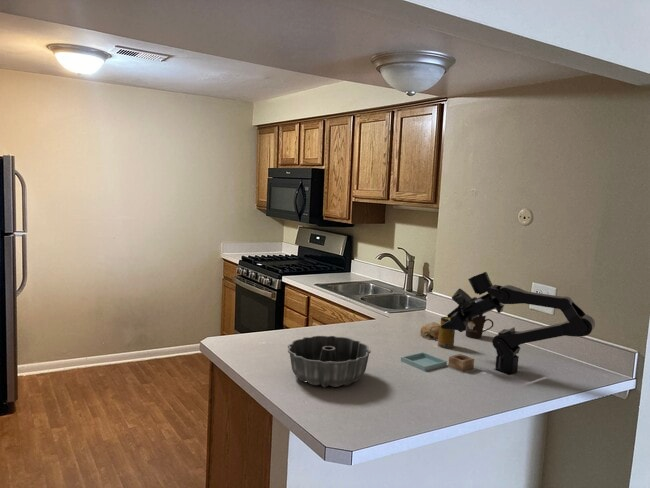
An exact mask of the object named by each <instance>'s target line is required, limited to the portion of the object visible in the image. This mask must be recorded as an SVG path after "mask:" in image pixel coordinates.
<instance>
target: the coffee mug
mask: <svg viewBox="0 0 650 488" xmlns="http://www.w3.org/2000/svg"><path fill="white" fill-rule="evenodd" d="M486 317H487V314H486V313H484V314H483V316H482V317H479V316H477V317H475V318H473V320H472V321H469V320H468V319H467V322H468V326H467V328H466V330H465V337H467V338H470V339H476V340H477V339H482V336H483V333H484V332H486V331H489V330H491V329H492V328H493V327H494V321H493V320H492V319H491V318H486ZM487 321H489V322H490V323H491V326H490V327H489V328H486V329H484V327H485V323H486V322H487Z"/></svg>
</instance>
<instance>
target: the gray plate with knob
mask: <svg viewBox="0 0 650 488" xmlns="http://www.w3.org/2000/svg"><path fill="white" fill-rule="evenodd" d="M448 365H449V364H447V365H446V366H444V367H446V368H449V369H450V370H454V371H456V372H457V373H458V372H459V373H460V374H465V373H469V372H473V371H476V370H478V368H476V367H474V368H473V369H470V370H467V371H463V372H462V371H459V370H456V369H454V368H451V367H449V366H448Z"/></svg>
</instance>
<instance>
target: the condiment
mask: <svg viewBox="0 0 650 488" xmlns="http://www.w3.org/2000/svg"><path fill="white" fill-rule="evenodd" d="M450 319H451V318H448V316H441V317H440V324H439V335H438V340H437V345H433V346H432V347H433V348H441V349H448V350H449V349H453V348H454V347H455V346H454V345H455V335H456V333H455V332H456V330H453V329H442V328H441V325H443V324H444V323H446V322H447V321H449V320H450Z"/></svg>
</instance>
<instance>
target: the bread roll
mask: <svg viewBox="0 0 650 488" xmlns="http://www.w3.org/2000/svg"><path fill="white" fill-rule="evenodd" d="M439 325H440V324H439V323H437V322H434V321H433V322H427V323H425V324H423V326H422V327H420V331H419V332H420V336H421V337H422V338H424V339H426V340H433V341H434V340H435V341H438V335H439Z"/></svg>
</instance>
